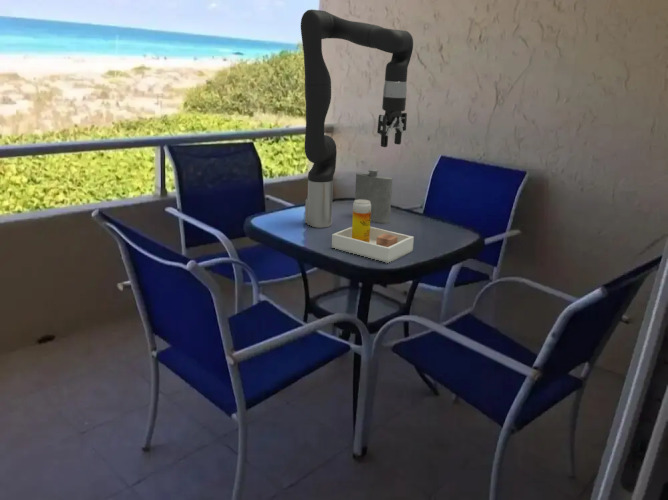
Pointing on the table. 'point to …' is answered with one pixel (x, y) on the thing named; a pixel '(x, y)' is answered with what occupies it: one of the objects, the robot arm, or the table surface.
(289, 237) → the table surface
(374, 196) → the hip flask
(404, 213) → the table surface
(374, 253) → the tray
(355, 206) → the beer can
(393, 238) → the wooden cube
